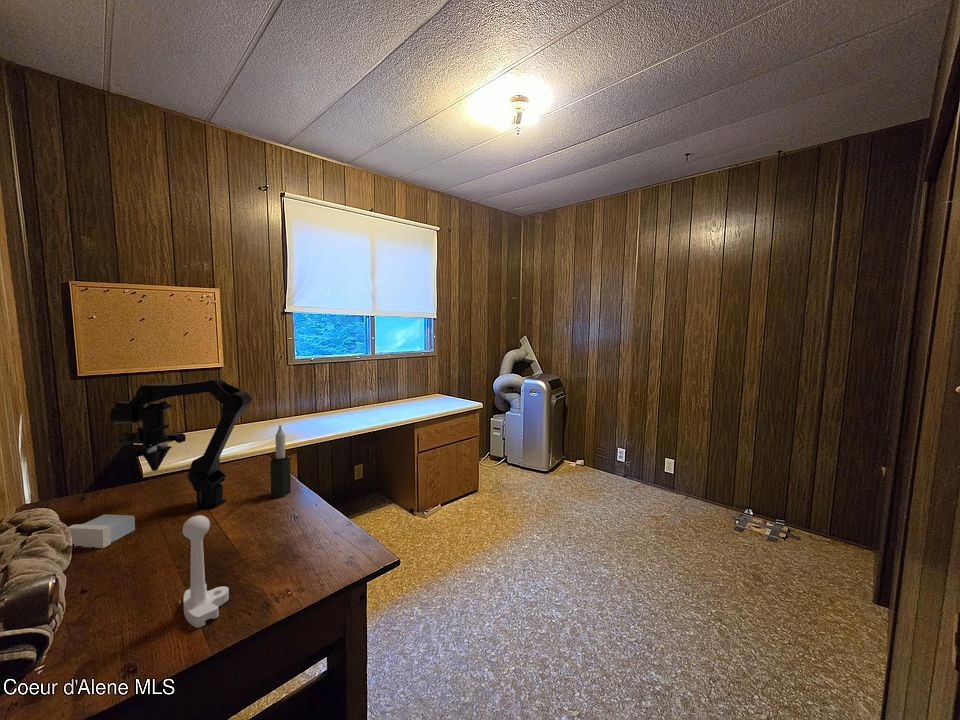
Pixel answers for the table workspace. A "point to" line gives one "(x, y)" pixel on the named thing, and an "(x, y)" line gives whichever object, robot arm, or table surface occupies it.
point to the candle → (280, 468)
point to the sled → (115, 524)
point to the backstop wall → (90, 535)
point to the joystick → (200, 578)
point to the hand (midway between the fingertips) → (154, 470)
